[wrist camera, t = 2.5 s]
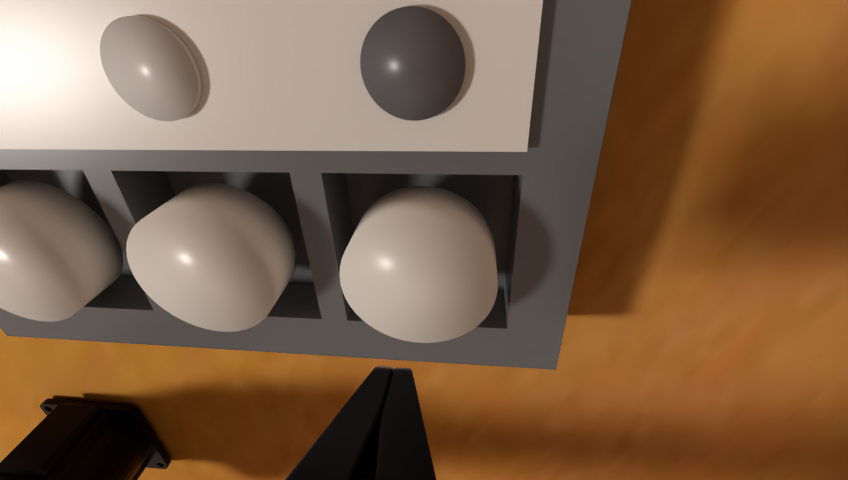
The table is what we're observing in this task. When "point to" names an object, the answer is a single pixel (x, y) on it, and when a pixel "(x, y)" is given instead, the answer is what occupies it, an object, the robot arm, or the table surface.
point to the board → (319, 144)
